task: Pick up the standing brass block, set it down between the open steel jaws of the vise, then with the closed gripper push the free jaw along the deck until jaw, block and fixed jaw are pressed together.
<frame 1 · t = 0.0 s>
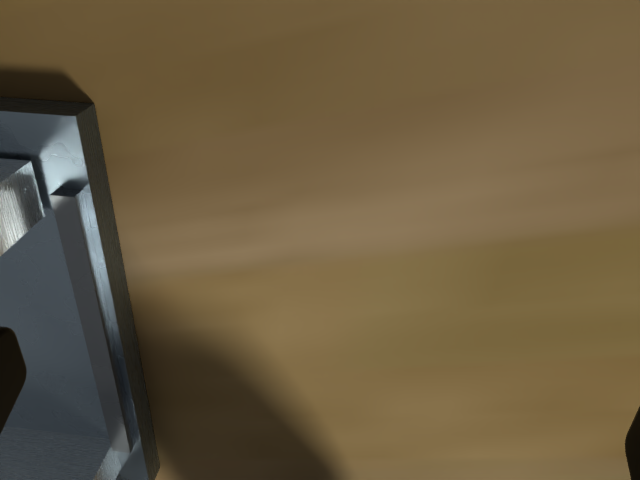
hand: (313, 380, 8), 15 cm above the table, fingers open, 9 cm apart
vise: (8, 309, 29), on the table
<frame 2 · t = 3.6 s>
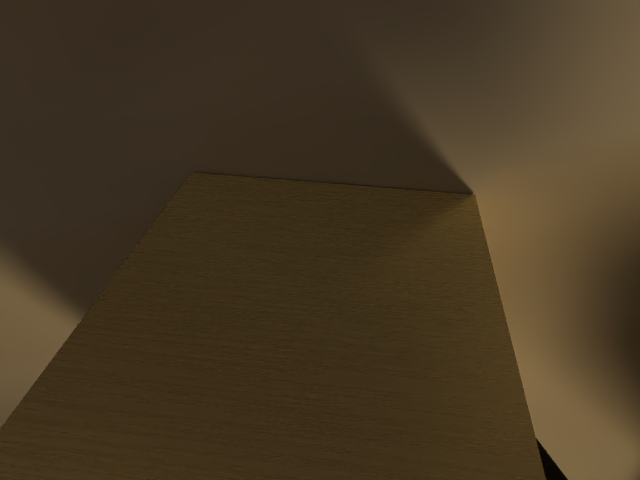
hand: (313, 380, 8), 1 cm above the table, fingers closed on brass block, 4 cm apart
brass block: (324, 321, 9), on the table, touching gripper
when the fingers open (3 cm above the table, at t = 7.2 s): brass block stays where it is, resting on vise.
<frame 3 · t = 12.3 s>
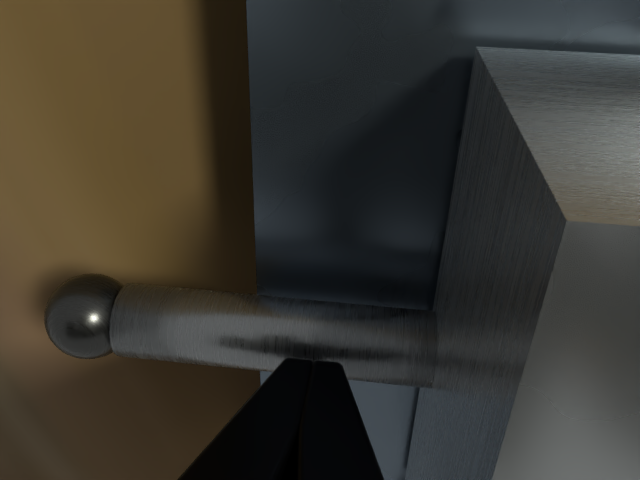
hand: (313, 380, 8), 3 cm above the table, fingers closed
free jaw: (294, 414, 8), point 4 cm above the table, slide at 1.2 cm, touching gripper
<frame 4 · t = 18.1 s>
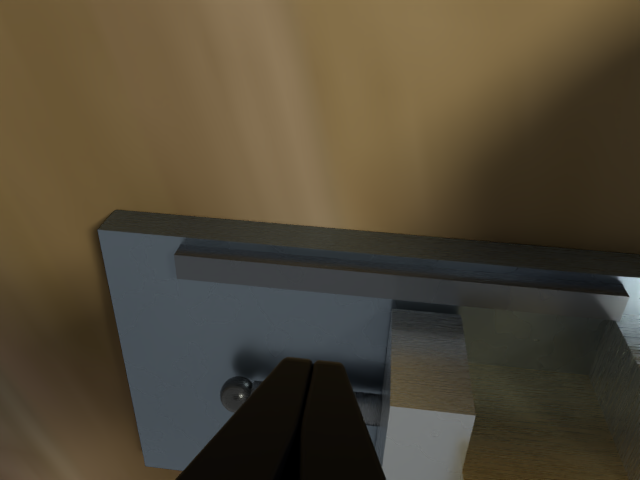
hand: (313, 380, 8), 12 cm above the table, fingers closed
brass block: (507, 405, 22), point 1 cm above the table, touching vise
vise: (392, 367, 24), on the table
free jaw: (325, 438, 21), point 4 cm above the table, slide at 8.8 cm
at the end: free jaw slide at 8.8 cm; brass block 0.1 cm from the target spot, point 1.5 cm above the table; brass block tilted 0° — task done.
